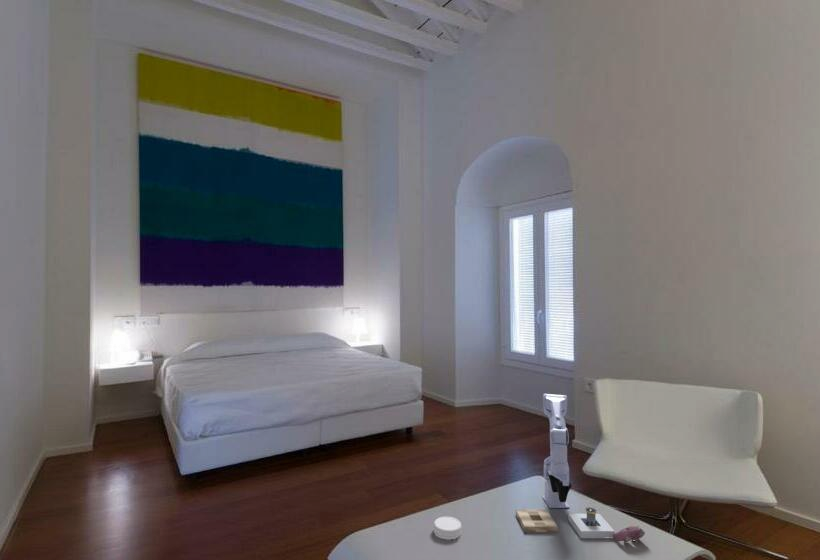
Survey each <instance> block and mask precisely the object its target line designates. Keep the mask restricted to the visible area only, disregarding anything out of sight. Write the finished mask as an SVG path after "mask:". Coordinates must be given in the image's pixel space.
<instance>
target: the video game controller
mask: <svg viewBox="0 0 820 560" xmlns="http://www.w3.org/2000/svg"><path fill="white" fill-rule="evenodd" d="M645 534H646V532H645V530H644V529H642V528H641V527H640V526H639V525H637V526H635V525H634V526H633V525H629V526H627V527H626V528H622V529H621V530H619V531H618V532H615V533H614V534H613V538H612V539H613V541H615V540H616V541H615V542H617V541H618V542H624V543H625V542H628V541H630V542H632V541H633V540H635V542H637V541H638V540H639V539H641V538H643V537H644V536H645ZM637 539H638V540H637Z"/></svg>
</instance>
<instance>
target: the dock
mask: <svg viewBox="0 0 820 560" xmlns="http://www.w3.org/2000/svg"><path fill="white" fill-rule="evenodd" d="M567 515H568V516H567V517H568V519H567V521H568V522H569V523H570V524H571V526H572V528H573V529H574V530H575V532H576V534H579V535H578V536H579V537H580V539H606V538H605V537H613V534H614V533H616V531H615V530H614V529H613V527H612V526H611V525H610V524H609V523H608V522H607V520H605V518H604V517H603V516H602V515H601V514H600V513H596V514H595V523H596V526H587V513H568V514H567Z"/></svg>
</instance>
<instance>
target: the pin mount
mask: <svg viewBox="0 0 820 560" xmlns="http://www.w3.org/2000/svg"><path fill="white" fill-rule="evenodd" d="M515 515H516V518H517V519H518V522H519V524H520V526H521V528H522V530H523V532H524V533H558V532H559V531H558V525H557V523H556V522H555V520H554V519H553V518H552V516H551V515H550V512H549V511H548V509H515Z"/></svg>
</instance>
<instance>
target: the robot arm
mask: <svg viewBox="0 0 820 560" xmlns="http://www.w3.org/2000/svg"><path fill="white" fill-rule="evenodd" d="M542 408H543V414H544V415H546V416H547V418H548V420H549V448H550V452H549V453H550V456H548V457H546V458H545V459H544V461H543V479H544V480H545V481H544V495H542V498H543V500H544V501H545V503H546V505H547V506H548V507H549V508H550V509H569V508H570V506H569V504H568V503H567V498H568V494H569V492H570V491H571V489H572V486H573V485H572V483H570V467H569V463H568V445H569V440H570V438H569V437H570V435H569V430H568V428H567V427H566V426H567V425H566V420H565V417H566V414H567V410H568V396H567V394H554V393H553V394H551V393H545V392H544V393H543V394H542Z"/></svg>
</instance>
